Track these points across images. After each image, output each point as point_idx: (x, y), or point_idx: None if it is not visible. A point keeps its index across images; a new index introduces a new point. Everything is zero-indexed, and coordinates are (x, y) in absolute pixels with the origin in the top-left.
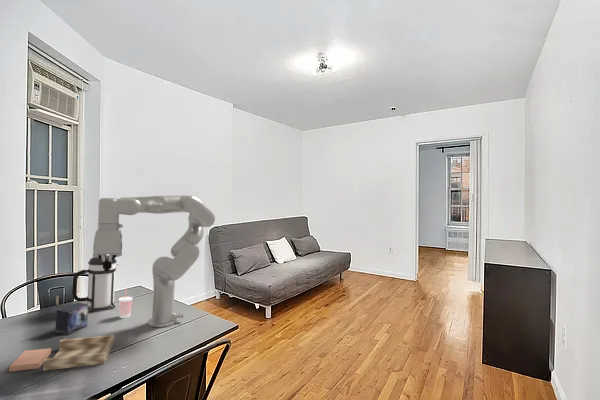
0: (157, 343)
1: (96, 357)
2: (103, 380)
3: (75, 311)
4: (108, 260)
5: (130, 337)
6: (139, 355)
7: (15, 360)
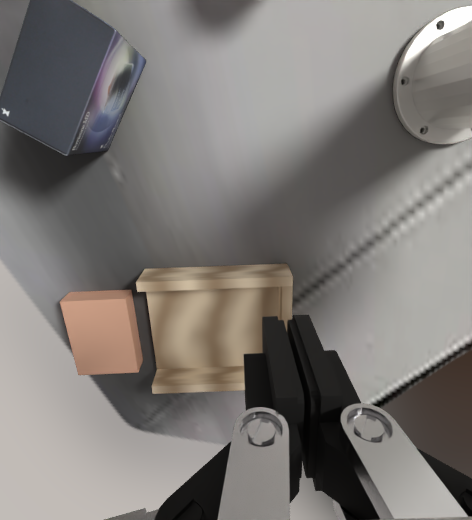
0: (413, 276)
1: None
2: None
3: (89, 117)
4: (334, 503)
5: (331, 214)
6: (362, 336)
7: (72, 351)
